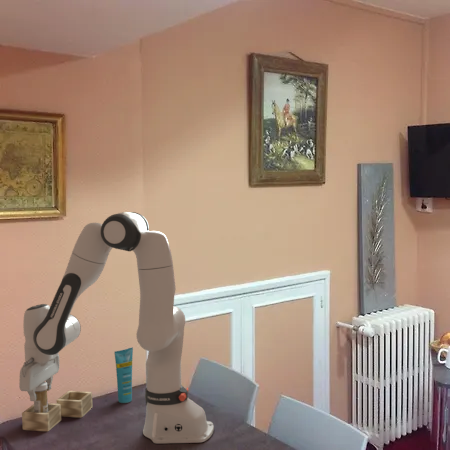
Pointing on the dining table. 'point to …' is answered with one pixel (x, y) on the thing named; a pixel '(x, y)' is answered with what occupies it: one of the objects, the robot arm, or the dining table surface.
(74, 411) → the open wooden box
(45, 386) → the sprinkles bottle
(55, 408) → the open square wooden box
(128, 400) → the tube
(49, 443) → the dining table surface
